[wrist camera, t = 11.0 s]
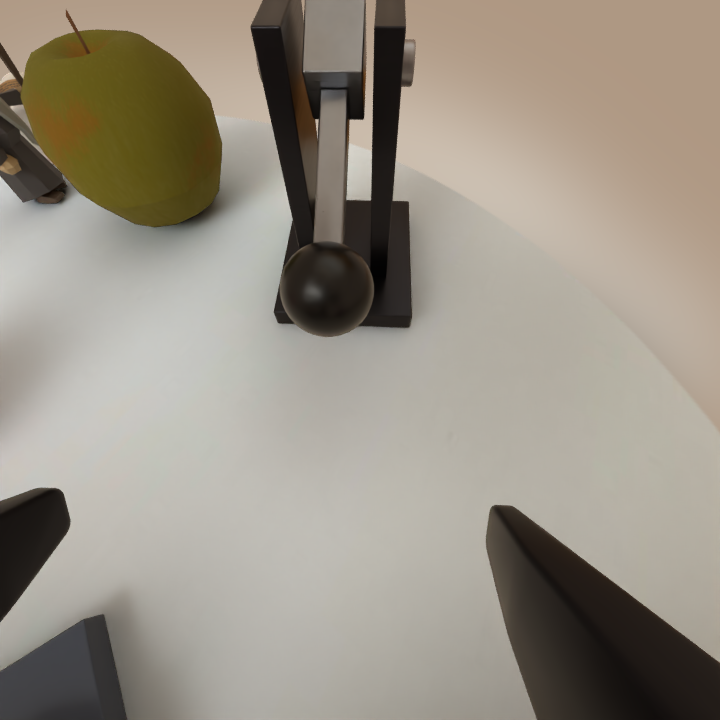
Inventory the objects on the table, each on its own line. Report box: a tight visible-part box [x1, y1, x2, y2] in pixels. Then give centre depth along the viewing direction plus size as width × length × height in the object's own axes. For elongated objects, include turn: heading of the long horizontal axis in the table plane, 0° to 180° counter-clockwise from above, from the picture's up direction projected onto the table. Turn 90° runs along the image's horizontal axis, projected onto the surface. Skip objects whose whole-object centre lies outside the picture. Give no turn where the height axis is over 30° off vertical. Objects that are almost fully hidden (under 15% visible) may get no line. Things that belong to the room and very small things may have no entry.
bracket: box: [251, 0, 415, 328], centre depth 18 cm, size 10×8×13 cm
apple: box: [20, 10, 222, 227], centre depth 22 cm, size 10×10×11 cm
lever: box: [280, 0, 374, 337], centre depth 13 cm, size 12×4×4 cm, turn 177°
